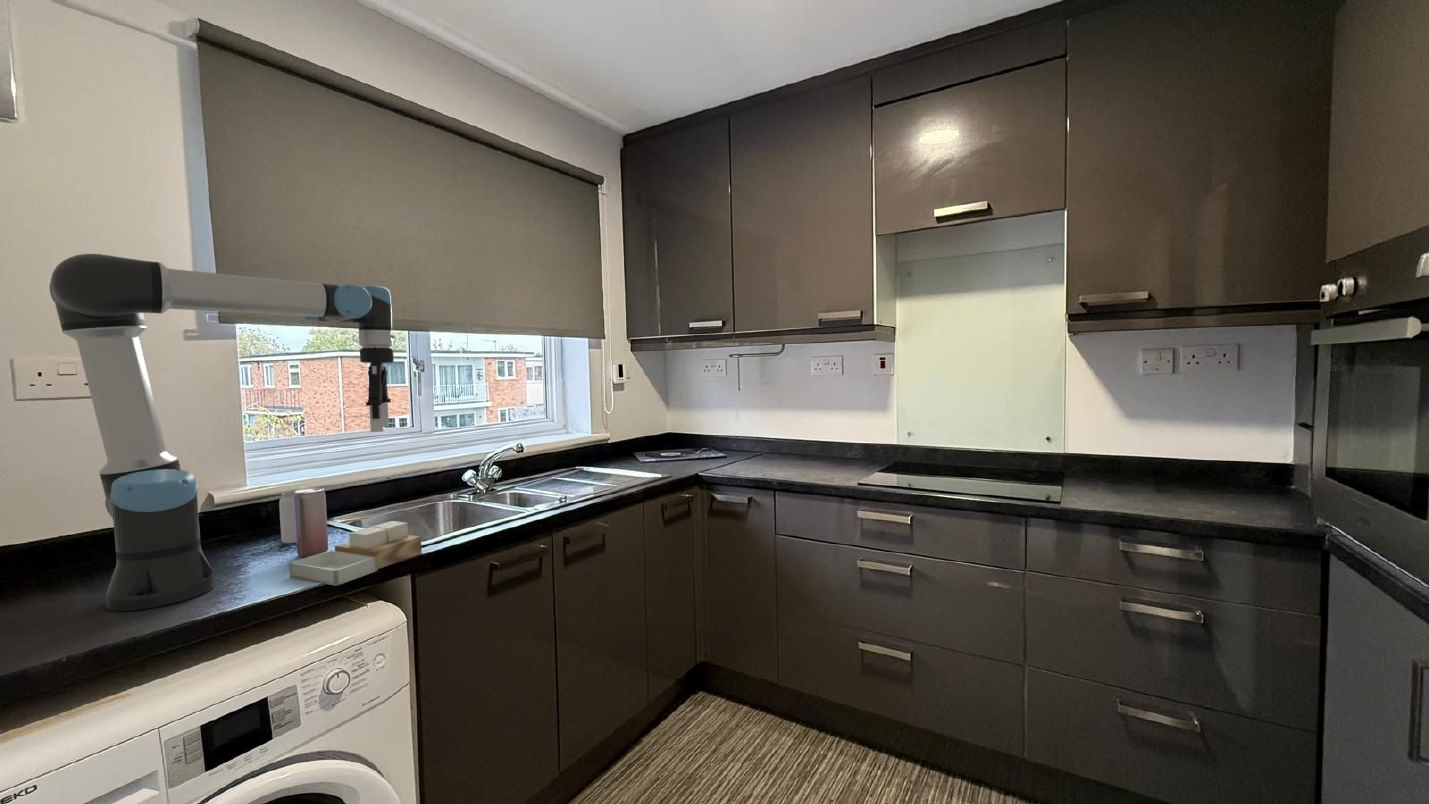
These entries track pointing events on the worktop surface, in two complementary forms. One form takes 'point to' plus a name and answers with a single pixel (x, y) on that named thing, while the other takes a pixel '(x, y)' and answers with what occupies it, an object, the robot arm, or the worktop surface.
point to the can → (287, 518)
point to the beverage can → (311, 522)
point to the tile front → (368, 537)
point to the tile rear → (394, 529)
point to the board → (388, 550)
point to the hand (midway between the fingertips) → (380, 429)
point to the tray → (333, 567)
